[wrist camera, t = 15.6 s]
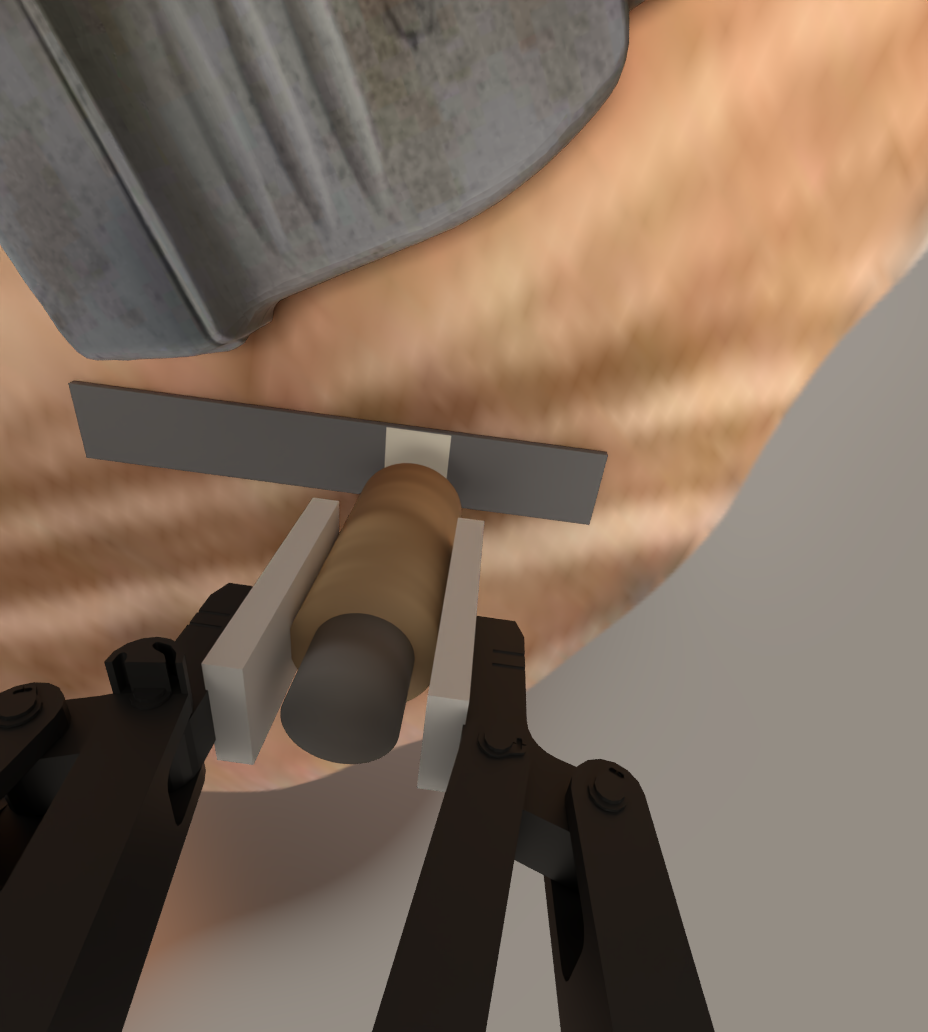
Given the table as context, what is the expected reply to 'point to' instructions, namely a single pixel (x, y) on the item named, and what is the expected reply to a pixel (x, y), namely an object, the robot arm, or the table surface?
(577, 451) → the strip
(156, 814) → the robot arm
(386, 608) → the tan bottle
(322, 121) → the handheld device
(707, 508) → the table surface
